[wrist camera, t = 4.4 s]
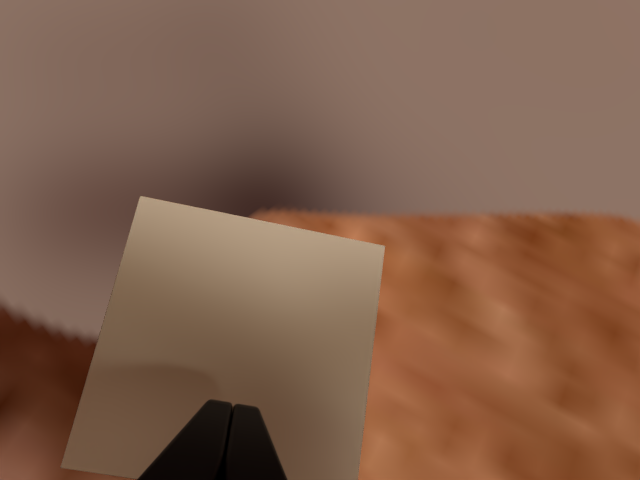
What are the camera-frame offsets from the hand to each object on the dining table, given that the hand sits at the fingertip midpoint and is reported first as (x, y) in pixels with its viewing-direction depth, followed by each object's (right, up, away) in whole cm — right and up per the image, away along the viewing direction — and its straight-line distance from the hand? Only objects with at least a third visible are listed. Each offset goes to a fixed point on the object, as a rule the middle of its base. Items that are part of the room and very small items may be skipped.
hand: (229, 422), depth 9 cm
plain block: (-1, -2, +9) cm, 9 cm away
